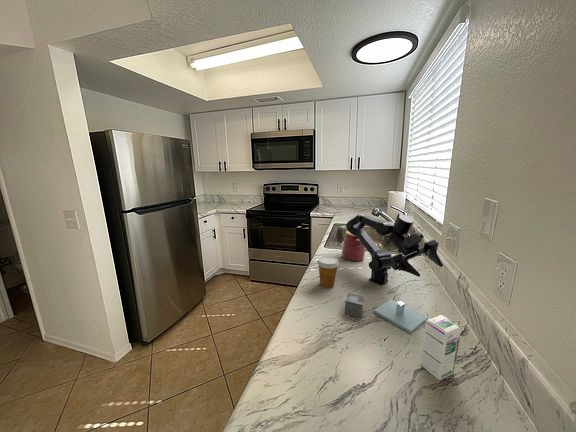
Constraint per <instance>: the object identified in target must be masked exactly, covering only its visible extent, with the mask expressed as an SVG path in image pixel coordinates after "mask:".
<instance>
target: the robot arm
mask: <svg viewBox="0 0 576 432" xmlns="http://www.w3.org/2000/svg"><path fill="white" fill-rule="evenodd" d="M414 224H415V219H414V218H413V217H412V216H409V215H406V214H404V213H398V214H397V216H396V219H395V221H389V220H380V219H378V218H375V217H372V216H370V215H368V214H367V213H362V214H361V213H359V214H356V215H355V217H353V218H351V219H350V220H348V221H347V222H346V224H345V228H346V231H348V232H350V233H351V234H353V235H355V236H357V238H358V239H359V240H360V241H361V243H362V244H363V245H364V246H365V250H367V251H368V253H369V255H370V256H371V260H370V262H369V263H368V268H369V270H370V269H371V271H370V273H371V274H370V275H371V276H370V278H368V280H369V281H371V282H373V283H375V284H378V285H380V286H382V285H383V284H385V283H387V282H389V278H388V277H389V273H388V271H389V270H391V269H393V270H394V271H403V272H406V273H408V274H411V275H413V276H417V277H418V278H420V277H421V273H419V271H418V270H417V269H416V268H414V266H413V265H412V264H410V262H409V261H410V260H412V259H415V258H417V257H419V256H421V255H424V254H425V256H426V257H427V258H428V259H429V260H430V261H432V262H434V264H435V265H437V266H439V268H442V267H443V266H444V265H443V263H442V261H441V259H440V257H439V255H438V249H439V246H440V245H439V242H438V241H437V240H436V239H431V240H429V241H426V242H424V243H423V247H422V248H420V246H421V244H420V242H422V241H423V239H424V237H425V236H424V234H423V233H422V232H420V231H419V230H417V231H414V233H413V234H410V235H408V236H406V235H407V234H409V233H410V231H411V229H412V227H413V225H414ZM365 226H368V227H370V228H372V229H374V230H375V232H376V233H377V234H379V235H380V236H381V237H385V236H388V237H387V238H386V244H387V245H393V246H395V248H396V249H397V252H398V254H395V255H393V256H392V254H391V253H390V252H389V251H388V249H387V248H383V249H381V248H380V247H379V246H378V245H377V244H376V242H375V241H374V240H373V238H371V236H370V235H369V234H368V233H367V232H366V231H365Z"/></svg>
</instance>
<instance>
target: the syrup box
mask: <svg viewBox="0 0 576 432" xmlns="http://www.w3.org/2000/svg"><path fill="white" fill-rule="evenodd" d="M461 333H462V326H461V325H460V324H458V323H456V322H455V321H453V320H452V319H450V318H449V317H446V316H445V315H442V314H439V315H437V316H433V317H431V318H428V320H426V321H425V328H424V333H423V335H424V336H423V341H422V343H423V344H422V349H421V350H422V351H421V358H420V365H421V366H422V368H424V369H425V370H426V371H427V372H428V373H430V374H431V375H432V376H433V377H434V378H436V380H438V381H439V382H440V381H442V380H444V379H445V378H447V377H450V376H451V375H454V373H455V369H456V363H457V362H456V361H457V356H458V350H459V344H460V337H461Z"/></svg>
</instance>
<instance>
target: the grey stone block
mask: <svg viewBox="0 0 576 432" xmlns="http://www.w3.org/2000/svg"><path fill="white" fill-rule="evenodd" d="M396 302H397V306H396V314H398V315H402V314H403V313H404V308H405V306H406V303H405V302H404V301H396Z"/></svg>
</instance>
